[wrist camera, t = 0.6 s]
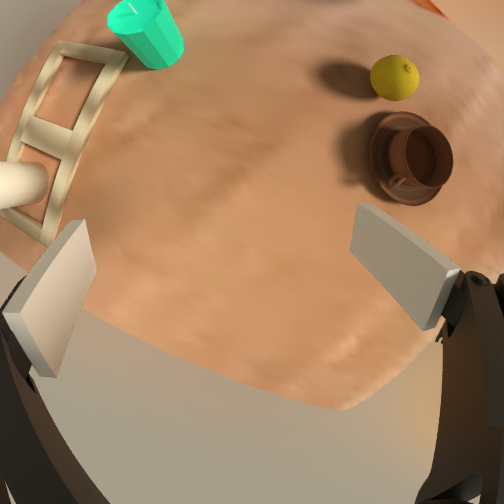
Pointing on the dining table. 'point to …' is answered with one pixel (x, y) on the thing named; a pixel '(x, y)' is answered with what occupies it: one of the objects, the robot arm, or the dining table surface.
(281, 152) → the dining table surface
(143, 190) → the dining table surface
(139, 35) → the candle
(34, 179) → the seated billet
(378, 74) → the lemon
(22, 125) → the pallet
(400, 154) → the cup and saucer
